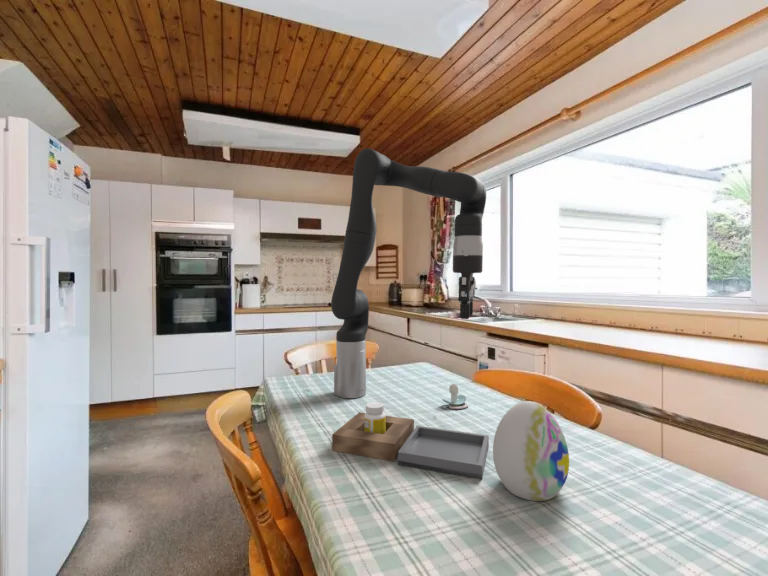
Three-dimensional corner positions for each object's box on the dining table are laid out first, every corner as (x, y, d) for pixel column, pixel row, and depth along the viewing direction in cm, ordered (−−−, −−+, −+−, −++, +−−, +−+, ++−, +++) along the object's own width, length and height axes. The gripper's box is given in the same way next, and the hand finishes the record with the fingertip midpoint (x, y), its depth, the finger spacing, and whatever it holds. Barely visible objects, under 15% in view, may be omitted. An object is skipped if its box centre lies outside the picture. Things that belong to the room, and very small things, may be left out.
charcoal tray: (398, 464, 73) (398, 452, 73) (416, 436, 86) (416, 425, 86) (482, 479, 68) (482, 465, 68) (488, 446, 81) (488, 435, 81)
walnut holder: (332, 450, 79) (332, 434, 79) (359, 426, 92) (359, 412, 92) (394, 461, 74) (394, 444, 74) (413, 434, 88) (413, 419, 88)
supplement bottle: (388, 439, 85) (388, 402, 85) (381, 448, 80) (381, 409, 80) (369, 436, 86) (368, 400, 86) (361, 445, 82) (360, 407, 82)
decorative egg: (553, 519, 56) (554, 420, 56) (480, 489, 65) (480, 402, 64) (578, 486, 65) (579, 401, 65) (510, 463, 74) (511, 387, 73)
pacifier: (473, 407, 106) (458, 401, 111) (473, 386, 106) (458, 380, 111) (454, 412, 102) (439, 405, 107) (454, 390, 102) (440, 384, 107)
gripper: (456, 256, 105) (455, 314, 105) (448, 252, 91) (447, 319, 92) (484, 255, 102) (483, 315, 103) (480, 252, 89) (479, 320, 89)
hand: (466, 317), depth 97 cm, fingers open, 8 cm apart
